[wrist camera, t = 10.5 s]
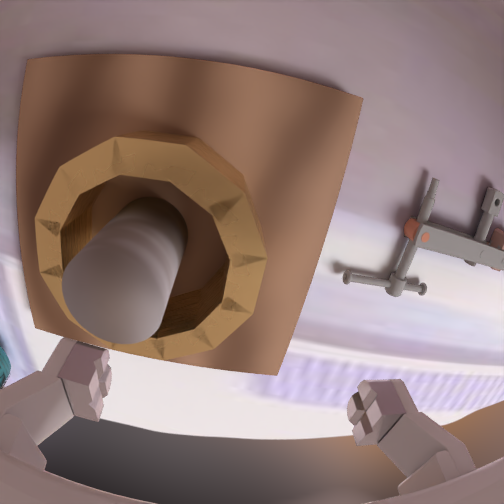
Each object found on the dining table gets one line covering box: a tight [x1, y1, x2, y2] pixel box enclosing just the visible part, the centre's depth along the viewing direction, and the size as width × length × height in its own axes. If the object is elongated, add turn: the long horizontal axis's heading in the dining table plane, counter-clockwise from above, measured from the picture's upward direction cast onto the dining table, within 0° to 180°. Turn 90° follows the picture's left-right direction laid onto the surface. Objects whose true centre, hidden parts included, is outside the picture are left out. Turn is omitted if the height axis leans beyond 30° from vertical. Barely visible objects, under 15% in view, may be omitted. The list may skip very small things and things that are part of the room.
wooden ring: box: [35, 130, 268, 360], centre depth 16 cm, size 12×12×4 cm
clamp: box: [343, 178, 504, 297], centre depth 20 cm, size 15×2×10 cm
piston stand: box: [16, 54, 363, 376], centre depth 15 cm, size 20×20×8 cm
